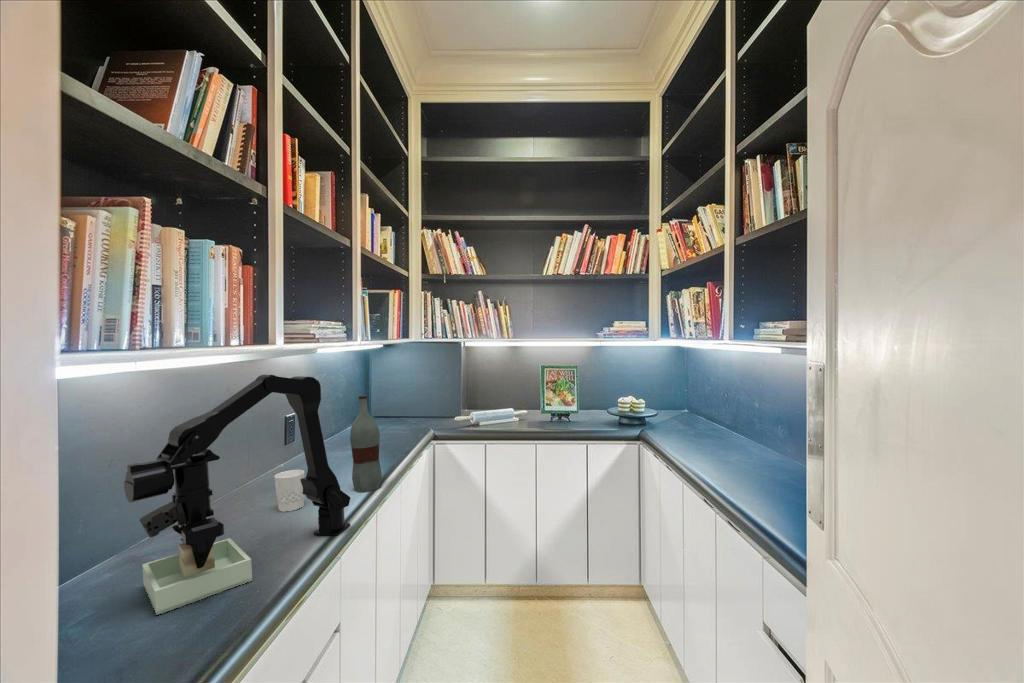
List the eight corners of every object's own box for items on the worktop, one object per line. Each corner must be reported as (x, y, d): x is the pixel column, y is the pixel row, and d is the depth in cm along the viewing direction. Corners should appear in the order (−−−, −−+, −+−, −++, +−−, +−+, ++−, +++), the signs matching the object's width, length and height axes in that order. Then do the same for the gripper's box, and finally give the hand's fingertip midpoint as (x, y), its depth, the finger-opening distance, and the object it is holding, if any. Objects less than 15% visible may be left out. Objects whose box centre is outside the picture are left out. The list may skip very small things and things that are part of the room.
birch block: (208, 559, 98) (207, 536, 98) (214, 567, 95) (213, 542, 95) (180, 569, 95) (178, 544, 95) (185, 577, 91) (183, 551, 91)
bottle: (367, 482, 158) (362, 393, 158) (388, 484, 154) (383, 393, 154) (346, 491, 150) (341, 397, 149) (368, 494, 146) (362, 397, 145)
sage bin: (231, 557, 106) (229, 538, 106) (252, 581, 95) (251, 559, 95) (143, 586, 95) (142, 564, 95) (156, 616, 84) (155, 591, 84)
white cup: (311, 506, 137) (309, 472, 137) (283, 515, 131) (281, 479, 131) (299, 501, 142) (297, 468, 142) (271, 509, 137) (269, 474, 136)
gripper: (135, 488, 96) (140, 564, 96) (149, 509, 82) (155, 597, 83) (199, 474, 103) (204, 545, 104) (222, 491, 90) (227, 572, 90)
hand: (197, 563), depth 95 cm, fingers closed on birch block, 5 cm apart
